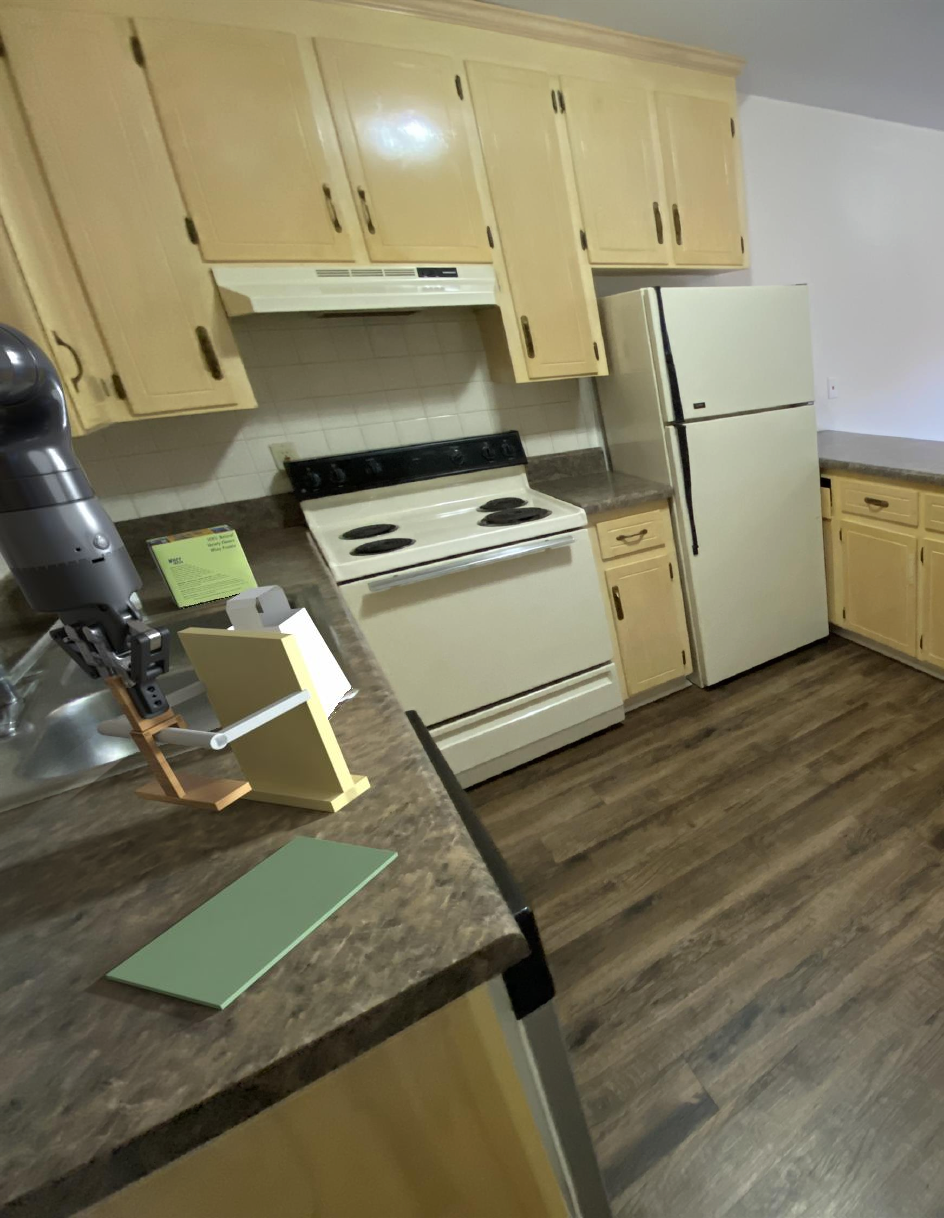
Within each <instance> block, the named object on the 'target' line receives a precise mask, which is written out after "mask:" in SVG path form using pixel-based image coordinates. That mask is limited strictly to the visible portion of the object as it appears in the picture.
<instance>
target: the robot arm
mask: <svg viewBox="0 0 944 1218" xmlns="http://www.w3.org/2000/svg"><path fill="white" fill-rule="evenodd" d="M70 421H71V420H70V417H69V411H68V406H67V400H66V397H65V391H64V387H63V383H62V380H61V377H60V375H59V372H58V371H57V369H56V367H55V365H54V364H53V361H52V360H51V358H50V357H49V356H48V354H47V353H46V351H44V349H43V348H42V347H41V346H40V345H39V343H38V342H36V341H35V340H34V339H33V338H32V337H30V335H28V334H27V333H26V332H24V331H22V330H21V329H19V328H17V327H16V326H13V325H12V324H9V323H5V322H3V321H0V555H1V556H2V558H3V560H4V562H5V564H6V565H7V567H8V569H9V570H10V572H11V575H12V576H13V578H14V579H15V581H16V583H17V585H18V587H19V588H20V591H21V592H22V594H23V596H24V598H25V599H26V601H27V603H28V605H29V607H30V608H31V609H32V610H33V611H36V612H38V613H44V614H55V613H58V618H59V621H60V622H61V623H62V626H60V627H58V628H55V629H51V630H49V636H50V638H51V639H52V640H53V641H54V642H55V643H56V644H57V645H58V646H59V647H60V648H61V649H62V650H63V651H64V652H65V653H66V654H67V655H68V656H69V657H70V658H71V659H72V660H73V661H74V662H75V663H76V664H77V665H78V667H80V668H81V669H82V670H83V672H85V674H87V675H88V677H89V678H91V679H93V680H98V679H100V678H101V680H102V682H103V683H104V684H105V685H106V686H108V685H107V683H106V681H105V680H104V679H106V678H108V677H111V676H113V675H115V674H118V676H119V677H120V679H121V681H122V683H123V684H124V686H126V687H127V688H126V690H127V692H128V694H129V696H130V698H131V700H132V702H133V704H134V706H135V707H136V709H137V711H138V713H139V715H140V717H141V718H144V719H152V718H154V717H156V716H159V715H161V714H163V713H165V712H167V711H168V710H169V708H170V706H169V704H168V702H167V700H166V698H165V696H166V695H165V694H164V692H163V691H162V688H161V686H160V684H159V682H158V680H157V678H158V677H160V676H161V675H165V674H167V673H169V672H170V655H171V653H170V651H171V650H170V649H171V643H170V642H171V633H170V631H169V629H168V628H167V627H166V626H164V625H160V626H157V627H154V628H152V627H151V626H149V625H148V624H146V623H145V622H144V617H143V615H142V613H141V612H140V610H138V608H137V607H136V606H135V605H134V603H133V601H131V596H132V595H133V594H134V593H137V592H138V591H140V590H141V589H142V587H143V581H142V579H141V577H140V574H139V573H138V571H137V569H136V567H135V564H134V562H133V560H132V558H131V556H130V554H129V552H128V549H127V548H126V546H125V544H124V542H123V539H122V538H121V535H120V534H119V532H118V529H117V527H116V525H115V523H114V521H113V519H112V517H111V516H110V514H109V513H108V511H107V510H106V508H105V507H104V506H103V504H102V503H101V502H100V499H99V498H98V496H97V495H96V492H95V490H94V487H93V486H92V484H91V481H90V480H89V478H88V475H87V473H86V471H85V469H84V467H83V465H82V463H81V461H80V460H79V458H78V457H77V455H76V453H75V450H74V446H73V445H74V444H73V435H72V427H71V422H70ZM130 668H131V670H130Z"/></svg>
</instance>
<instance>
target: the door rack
mask: <svg viewBox="0 0 944 1218" xmlns="http://www.w3.org/2000/svg"><path fill="white" fill-rule="evenodd" d="M176 634H177V636H178V639H179V640H180V642H181V644H182V646H183V649H184V651H185V653H186V656H187V657H188V660H189V661H190V664H191V666H192V668H193V670H194V672H195V674H196V676H197V679H198V681H195V682H194V683H190V684H189V685H187V686H184V687H183V688H180V689H178V690H175V691H173V692H170V693H168V694H166V695H164V696H165V698H166V700H167V702H168V704H169V706H170V708H171V709H172V707H175V706H177V705H179V704H182V703H183V702H186V701H189V700H190V699H192V698H194V697H197V696H199V695H201V694H203V693H205V695H206V698H207V699H208V702H209V704H210V706H211V708H212V710H213V713H214V715H215V716H216V719H217V720H218V723H219V725H220V727H221V729H220V730H219V731H217V732H211V731H206V730H205V731H204V730H196V729H189V728H188V729H179V728H171V727H166V728H164V729H162V730H160V731H158V732H156V733H154V734H152V737H153V739H154V740H155V742H156V743H162V744H170V745H178V746H184V747H192V748H193V747H194V748H201V749H208V750H215V751H216V750H221V749H223V748H225V747H226V746H227V744H229V746H230V748H231V750H232V752H233V754H234V756H235V759H236V760H237V763H238V765H239V767H240V769H241V771H242V773H243V775H244V778H245V779H243V780H241V781H242V782H248V783H249V785H250V787H251V789H252V790H250V791H249V792H247V793H246V794H244V795H243V796H241V797H240V798H239V799H243V800H250V801H257V802H263V803H268V804H275V805H281V806H289V807H295V808H303V809H308V810H316V811H321V812H328V813H334V814H335V813H337V812H338V811H340V810H341V809H342V808H344V807H345V806H347V805H348V804H350V802H353V800H355V799H356V798H358V797H359V796H360V795H362V794H363V793H365V792H366V791H367V790H368V789H370V788H371V784H370V782H369V779H368V776H365V775H359V774H351V773H350V771H349V768H348V765H347V762H346V760H345V757H344V756H343V753H342V750H341V748H340V746H339V743H338V741H337V738H336V736H335V733H334V730H333V728H332V726H331V723H330V719H329V720H328V718H327V716H326V713H325V711H324V708H323V706H322V703H321V701H320V698H319V696H318V693H317V691H316V688H315V686H314V683H313V681H312V678H311V676H310V673H309V671H308V668H307V666H306V663H305V661H304V658H303V656H302V653H301V651H300V648H299V646H298V643H297V641H296V638H295V636H294V634H291V633H275V632H258V631H242V630H227V628H208V627H207V628H206V627H191V626H189V627H188V628H185V629H182V630H179V631H177V632H176ZM96 727H97V728H96V731H97V733H98V734H99V735H101V736H105V737H106V736H107V737H116V738H122V739H130V740H133V738H132V736H131V735H130V733H129V732H130V731H132V730H134V729H133V727H132V726H131V724H130V722H129V721H128V719H127V717H126V716H125V714H121V715H119V716H116V717H115V718H111V719H106V720H103V721H101V722H100V723H99V724H98V725H97V726H96Z"/></svg>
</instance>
